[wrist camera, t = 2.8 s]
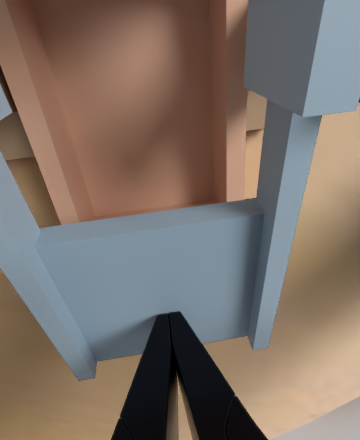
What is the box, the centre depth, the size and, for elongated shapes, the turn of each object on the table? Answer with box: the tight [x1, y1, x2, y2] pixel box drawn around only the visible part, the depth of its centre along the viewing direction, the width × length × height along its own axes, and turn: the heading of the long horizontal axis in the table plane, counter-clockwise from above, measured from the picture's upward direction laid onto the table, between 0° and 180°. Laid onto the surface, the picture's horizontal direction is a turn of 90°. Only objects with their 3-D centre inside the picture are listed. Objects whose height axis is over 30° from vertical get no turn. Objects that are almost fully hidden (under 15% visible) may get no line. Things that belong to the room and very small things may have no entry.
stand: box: [0, 65, 360, 160], centre depth 7 cm, size 6×11×8 cm, turn 95°
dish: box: [0, 0, 248, 225], centre depth 10 cm, size 10×7×3 cm
